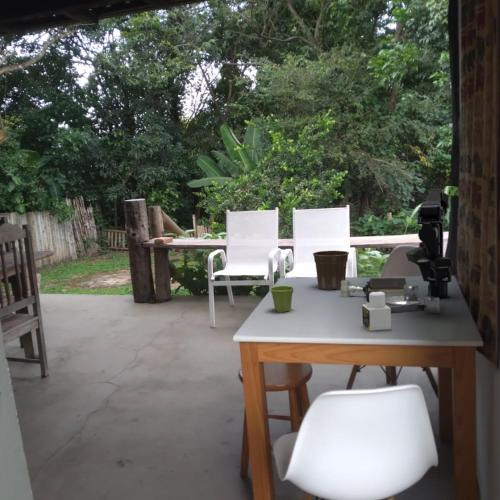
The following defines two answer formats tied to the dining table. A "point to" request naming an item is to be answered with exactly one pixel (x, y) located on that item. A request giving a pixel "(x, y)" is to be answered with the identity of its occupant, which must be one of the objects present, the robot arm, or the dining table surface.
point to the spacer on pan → (411, 292)
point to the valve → (352, 288)
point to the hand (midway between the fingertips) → (431, 283)
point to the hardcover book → (388, 284)
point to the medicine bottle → (376, 311)
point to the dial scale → (403, 304)
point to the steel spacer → (431, 304)
